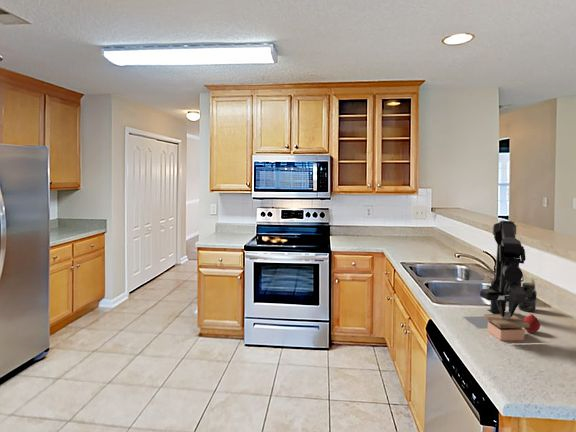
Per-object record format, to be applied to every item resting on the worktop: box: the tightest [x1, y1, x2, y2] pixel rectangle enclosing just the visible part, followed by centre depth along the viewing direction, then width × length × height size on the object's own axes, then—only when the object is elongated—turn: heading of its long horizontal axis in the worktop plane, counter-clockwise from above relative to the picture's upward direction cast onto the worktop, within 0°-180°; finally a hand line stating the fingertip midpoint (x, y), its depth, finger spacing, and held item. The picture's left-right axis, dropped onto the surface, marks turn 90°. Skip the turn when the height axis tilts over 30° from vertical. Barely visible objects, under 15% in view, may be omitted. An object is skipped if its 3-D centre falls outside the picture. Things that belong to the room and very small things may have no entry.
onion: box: [522, 312, 541, 334], centre depth 161 cm, size 6×6×8 cm
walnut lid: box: [483, 310, 530, 329], centre depth 157 cm, size 11×11×4 cm
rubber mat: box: [462, 316, 489, 329], centre depth 172 cm, size 13×13×1 cm
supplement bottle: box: [517, 282, 538, 313], centre depth 189 cm, size 7×7×12 cm
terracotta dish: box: [486, 321, 526, 342], centre depth 158 cm, size 9×9×4 cm
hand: (506, 316), depth 157 cm, fingers closed on walnut lid, 3 cm apart
